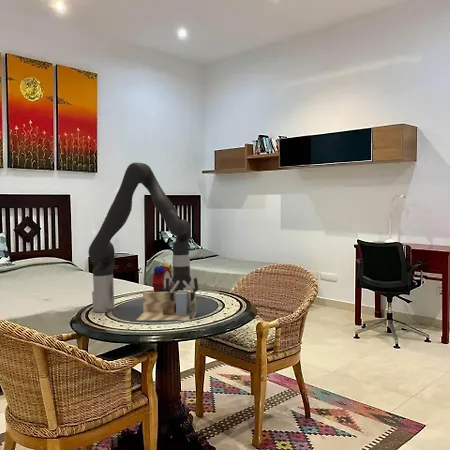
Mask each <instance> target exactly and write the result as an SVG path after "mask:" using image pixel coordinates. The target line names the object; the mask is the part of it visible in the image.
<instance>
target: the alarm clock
mask: <svg viewBox="0 0 450 450" xmlns="http://www.w3.org/2000/svg"><path fill="white" fill-rule="evenodd" d="M162 260H163V263H162V264H161V261H162ZM168 277H169V278H173V274H172V271H171V267H170V265H169V264H168V263H166V260H165V259H164V258H161V259H160V260H159V262H158V265H156V266H155V267H154V269H153V275H152V276H150V279H151V280H152V281H151V283H152V288H153V292H158V291H159V288H163V289H164V288H166V279H167V278H168ZM172 284H173V281H171V283H170V285H172ZM170 285H169V286H170Z"/></svg>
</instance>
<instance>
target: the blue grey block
mask: <svg viewBox="0 0 450 450" xmlns="http://www.w3.org/2000/svg"><path fill="white" fill-rule="evenodd" d="M188 292H189V289H184V290H178V291H177V292H176V316H187V314H188V313H189V300H188Z"/></svg>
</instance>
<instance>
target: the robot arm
mask: <svg viewBox="0 0 450 450" xmlns="http://www.w3.org/2000/svg"><path fill="white" fill-rule="evenodd" d="M140 184H142V186H143V187H144V188H146V190H147V192H148V193H149V195H150V197H151V199H152V202H153V203H152V204H153V205H154V207H155V209H156V210H157V212H158V213H159V214H160V216H161V217H162V218H163V220H164V223H165V224H166V227H167V229H168V230H169V232H170V234H172V235H173V236H175V241H173V243H172V278H169V277H168V278H167V279H166V292H169V293H170V300H172V301H174V292H173V291H174V290H175V288H176V287H178V288H181V287H183V289H184V288H187V290H188V291H189V292H191V301H193V300H194V292H196V293H197V292H198V291H199V284H198V283H199V282H198V277H196V276H195V277H191V260H190V251H189V250H190V249H189V248H190V247H189V245H190V244H189V243H190V239H191V231H192V230H191V228H192V227H191V224H190V222H189V221H188V220H187V219H180V218H179V216H178V214H177V213H178V210H177V209H176V207H175V205H174V204H173V203H172V201H171V200H170V198H169V197H168V196H167V194H166V193H165V192H164V189H163V188H162V187H161V184H160V183H159V181H158V180H157V177H156V176H155V174H154V172H153V170H152V169H151V167H150V166H149V165H148V164H146V163H144V162H143V163H142V162H131V163H130V164H129V165H128V166H127V168H126V170H125V171H124V175H123V178H122V181H121V183H120V186H119V189H118V191H117V193H116V195H115V197H114V200H113V201H112V203H111V205H110V208H109V209H108V211H107V213H106V217H105V218H104V220H103V222H102V224H101V226H100V228H99V231H98V232H97V234H96V235H95V237H94V238H93V240H92V242H91V243H90V245H89V247H88V256H89V259H91V261H93V262H97V265H96V266H95V267H94V268H93V270H92V277H93V278H92V279H93V280H92V282H93V283H92V284H93V291H92V294H91V296H92V297H91V299H92V312H93V313H109V312H110V313H111V312H112V311H113V310H114V309H115V293H114V291H115V290H114V289H115V288H114V269H115V262H116V261H115V260H116V259H115V256H116V254H115V247H114V244H113V243H112V242H111V241H112V240H113V237H114V236H115V235H116V234H117V233H118V232H119V231H120V230H121V229H122V228H123V226H124V225H125V224H126V222H127V221H128V219H129V216H130V214H131V212H132V208H133V207H132V206H133V197H134V193H135V192H136V189H137V188H138V185H140ZM171 281H172V284H173V283H174V284H175V285H174V286H173V287H172V289H169V285H170V283H171ZM191 282H192V283H194V284H193V285H194V288H193V286H192V285H191V284H190V283H191Z"/></svg>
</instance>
